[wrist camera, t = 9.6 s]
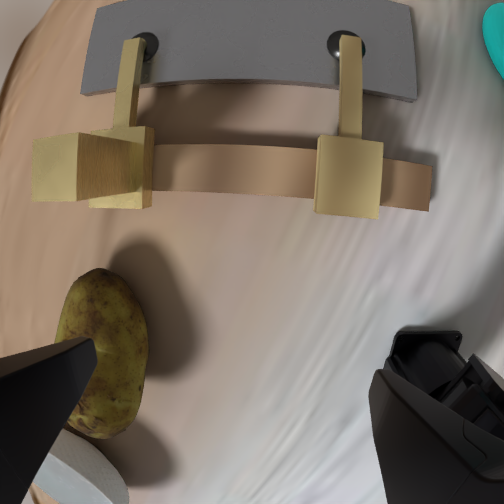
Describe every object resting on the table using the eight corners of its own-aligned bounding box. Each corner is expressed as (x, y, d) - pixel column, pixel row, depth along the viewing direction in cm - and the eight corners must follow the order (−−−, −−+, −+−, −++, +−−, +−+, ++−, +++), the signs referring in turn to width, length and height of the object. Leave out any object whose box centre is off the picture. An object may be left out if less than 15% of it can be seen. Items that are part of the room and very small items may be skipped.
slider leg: (167, 36, 17) (115, -19, 9) (154, 205, 20) (85, 224, 12) (117, 44, 17) (53, 2, 10) (104, 204, 20) (26, 221, 12)
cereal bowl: (36, 380, 27) (1, 413, 20) (157, 460, 28) (137, 506, 21) (33, 442, 32) (11, 469, 25) (125, 501, 32) (110, 534, 25)
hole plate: (404, 11, 16) (409, 5, 15) (411, 102, 18) (417, 99, 17) (102, 12, 18) (96, 7, 17) (87, 96, 20) (79, 93, 18)
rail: (421, 62, 17) (440, 47, 14) (418, 218, 20) (439, 226, 16) (83, 59, 19) (60, 48, 16) (72, 198, 22) (46, 203, 18)
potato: (191, 302, 23) (150, 359, 15) (144, 407, 26) (111, 465, 18) (99, 250, 22) (32, 282, 15) (73, 363, 26) (27, 409, 18)
